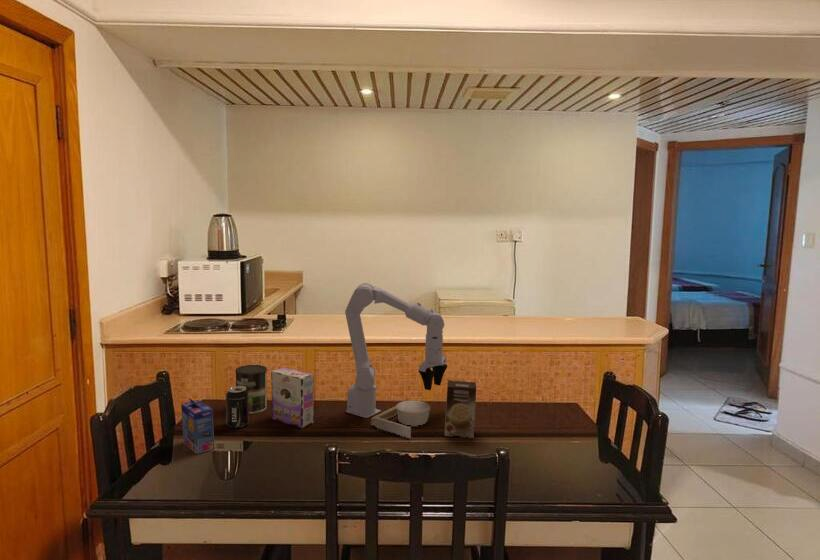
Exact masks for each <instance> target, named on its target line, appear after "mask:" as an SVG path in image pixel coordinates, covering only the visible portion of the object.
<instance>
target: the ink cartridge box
mask: <svg viewBox="0 0 820 560" xmlns="http://www.w3.org/2000/svg"><path fill="white" fill-rule="evenodd" d="M188 400H189V401H187V402H186V401H185V402H182V403H181V404H180V405H181V420H182V421H181V422H182V423H181V425H182V441H183V444H184V445H185V446H186V447H188V449H190V450H191V451H192V452H193V453H194V454H196V455H199V454H201V453H205V452H208V451H211V450H215V435H214V419H213V417H214V416H213V408H212V407H210V406H209V405H207V404H205V403H204V402H203V401H201V400H200V399H195V400H193V399H191V398H190V397H188Z"/></svg>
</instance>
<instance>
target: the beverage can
mask: <svg viewBox="0 0 820 560" xmlns="http://www.w3.org/2000/svg"><path fill="white" fill-rule="evenodd" d="M225 419H226V420H225V421H226V422H225V423H226V424H225V425H226V426H227V427H229V428H231V429H241V428H243V427H245V426H247V425H248V424H249V422H250V414H249V394H248V391H247V390H246V387H244V386H236V385H235V386H230V387H228V388H227V392H226V393H225Z"/></svg>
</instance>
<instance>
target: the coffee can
mask: <svg viewBox="0 0 820 560" xmlns="http://www.w3.org/2000/svg"><path fill="white" fill-rule="evenodd" d="M267 371H268V369H267V366H265V365H261V364H246V365H241V366H238V367H236V369H235V386H244V387H246V390H247V391H248V394H249V415H254V414H258V413H262V412H264V411H266V410H267V408H268V407H267V401H268V400H267V398H268V397H267V396H268V395H267V390H268V389H267Z"/></svg>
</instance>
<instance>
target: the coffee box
mask: <svg viewBox="0 0 820 560" xmlns="http://www.w3.org/2000/svg"><path fill="white" fill-rule="evenodd" d="M446 387H447V389H446V404H445V420H444V421H445V422H444V436H445V437H453V436H460V437H459V438H466V437H468V439H469V438H470V439H474V438H475V437H474V436H475V435H474V433H475V421H476V420H475V419H476V418H475V416H476V403H477V402H476V399H477V397H476V396H477V384H476V382H475V381H465V380H464V381H463V380H453V379H452V380H451V379H450V380H447V386H446Z"/></svg>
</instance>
